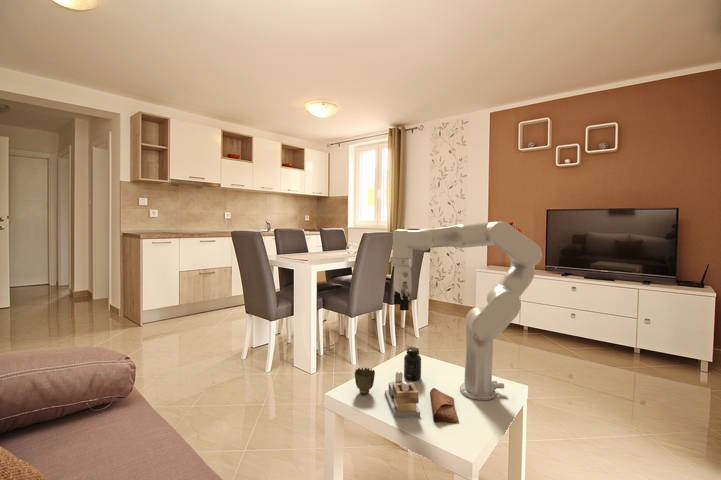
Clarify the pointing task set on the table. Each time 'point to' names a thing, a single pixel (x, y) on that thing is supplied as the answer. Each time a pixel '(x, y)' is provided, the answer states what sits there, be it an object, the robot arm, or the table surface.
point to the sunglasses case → (443, 407)
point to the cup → (364, 380)
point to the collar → (405, 394)
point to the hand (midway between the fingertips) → (400, 307)
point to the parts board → (394, 410)
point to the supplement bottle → (412, 365)
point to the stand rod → (397, 380)
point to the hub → (405, 407)
